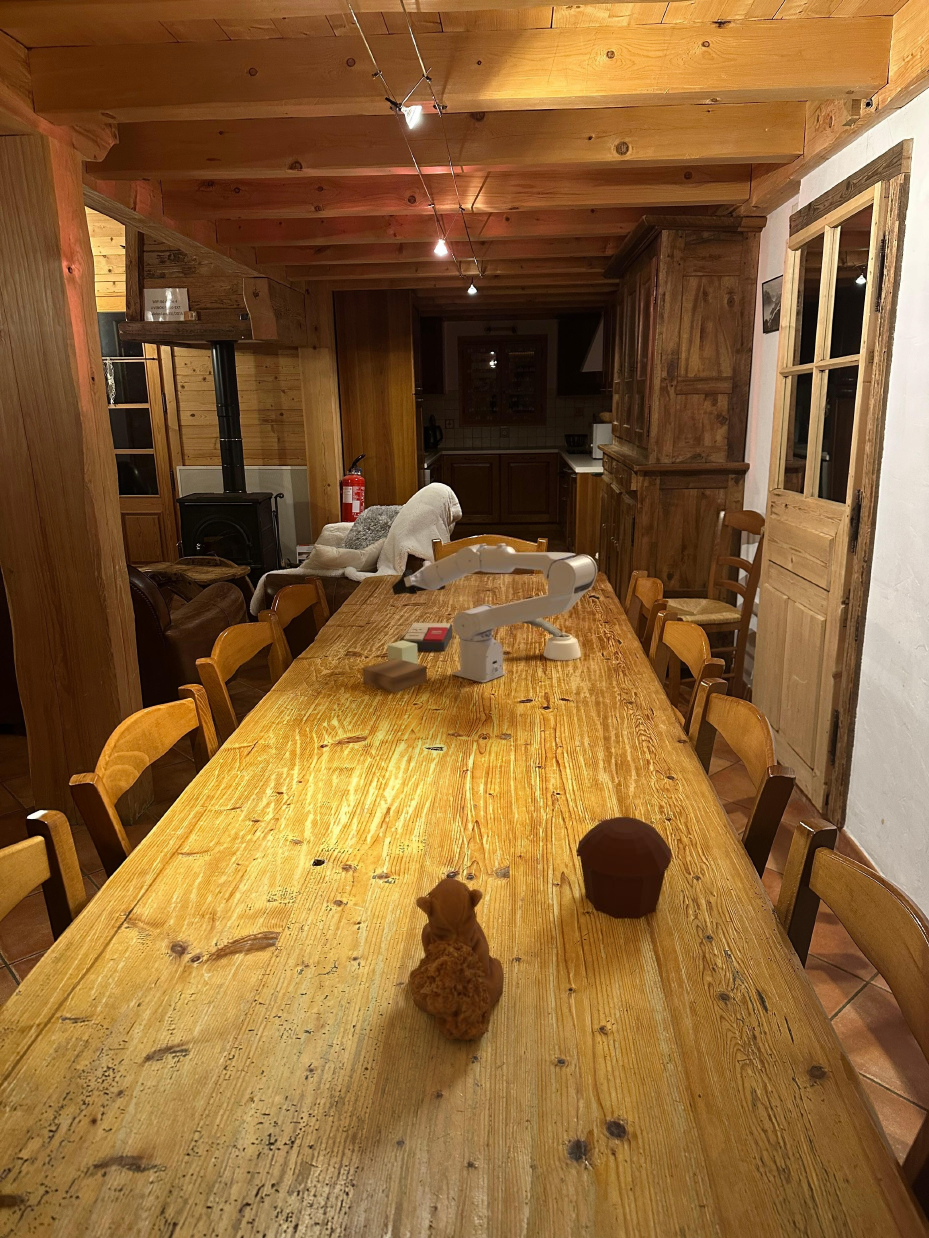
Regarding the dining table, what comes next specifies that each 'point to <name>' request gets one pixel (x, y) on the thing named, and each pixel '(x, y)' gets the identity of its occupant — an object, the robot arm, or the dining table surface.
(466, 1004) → the stuffed squirrel
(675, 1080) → the dining table surface
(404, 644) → the sage cube
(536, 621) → the inkwell
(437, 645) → the red cream box
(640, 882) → the muffin
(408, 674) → the walnut riser
